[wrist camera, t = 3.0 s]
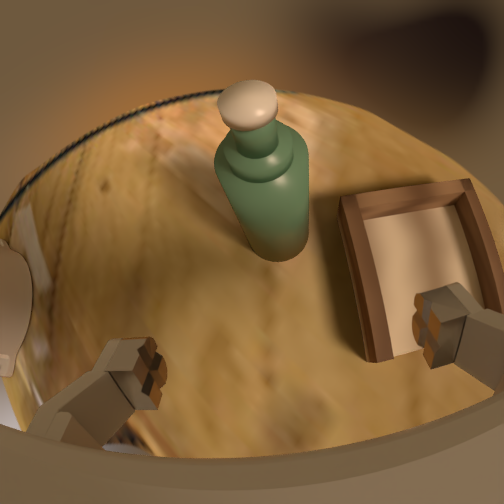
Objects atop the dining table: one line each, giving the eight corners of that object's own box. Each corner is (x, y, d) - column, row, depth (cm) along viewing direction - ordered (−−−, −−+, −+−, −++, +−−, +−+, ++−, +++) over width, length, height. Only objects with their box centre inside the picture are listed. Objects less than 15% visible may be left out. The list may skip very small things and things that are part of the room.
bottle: (260, 271, 26) (204, 161, 12) (240, 218, 28) (179, 88, 13) (318, 248, 26) (328, 117, 11) (294, 197, 28) (278, 54, 13)
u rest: (366, 362, 22) (377, 362, 19) (336, 217, 26) (340, 196, 23) (491, 324, 21) (513, 317, 17) (454, 198, 25) (469, 178, 22)
